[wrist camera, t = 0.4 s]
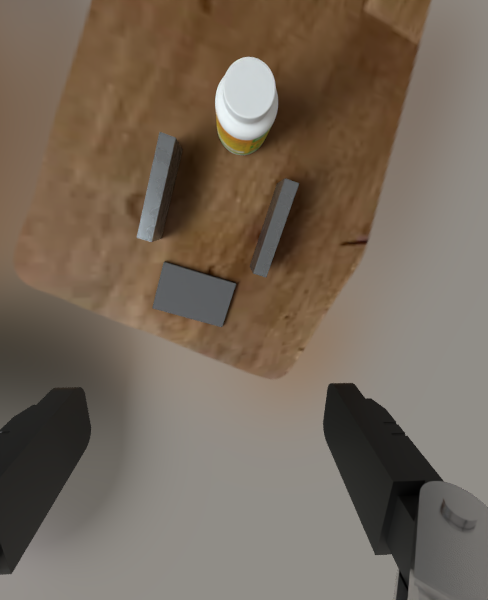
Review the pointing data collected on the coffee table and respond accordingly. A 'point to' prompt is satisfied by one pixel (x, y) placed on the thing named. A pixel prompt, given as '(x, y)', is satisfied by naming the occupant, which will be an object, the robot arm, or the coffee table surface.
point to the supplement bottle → (245, 105)
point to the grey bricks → (162, 191)
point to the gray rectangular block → (193, 294)
